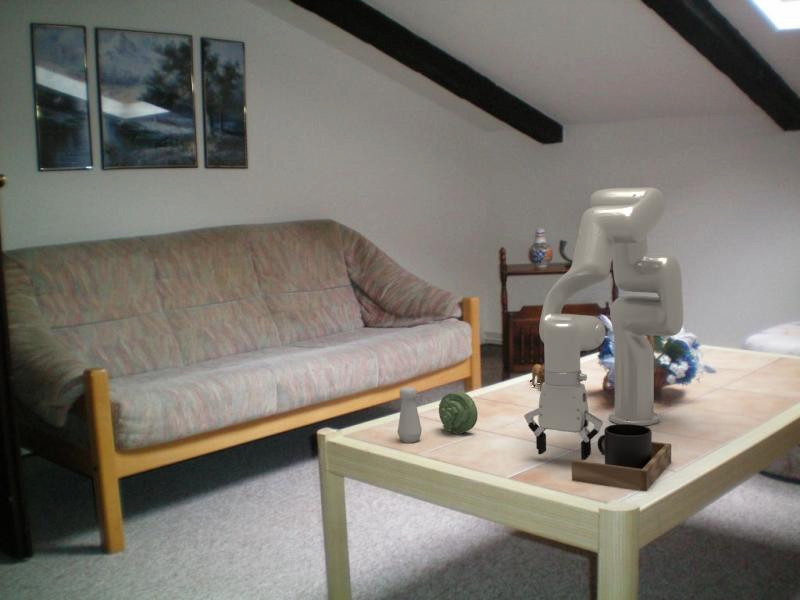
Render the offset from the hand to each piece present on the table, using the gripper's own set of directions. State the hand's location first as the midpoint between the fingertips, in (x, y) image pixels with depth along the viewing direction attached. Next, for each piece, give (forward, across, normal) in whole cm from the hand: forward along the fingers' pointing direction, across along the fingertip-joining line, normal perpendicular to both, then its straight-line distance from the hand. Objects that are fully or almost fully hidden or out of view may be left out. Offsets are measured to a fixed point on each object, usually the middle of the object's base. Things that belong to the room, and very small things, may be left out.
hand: (563, 455), depth 188 cm
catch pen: (+2, -12, 0) cm, 13 cm away
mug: (+2, -13, 0) cm, 13 cm away
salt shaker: (+2, +39, -2) cm, 39 cm away
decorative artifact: (+2, +32, -11) cm, 34 cm away
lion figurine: (+2, +29, -64) cm, 70 cm away
